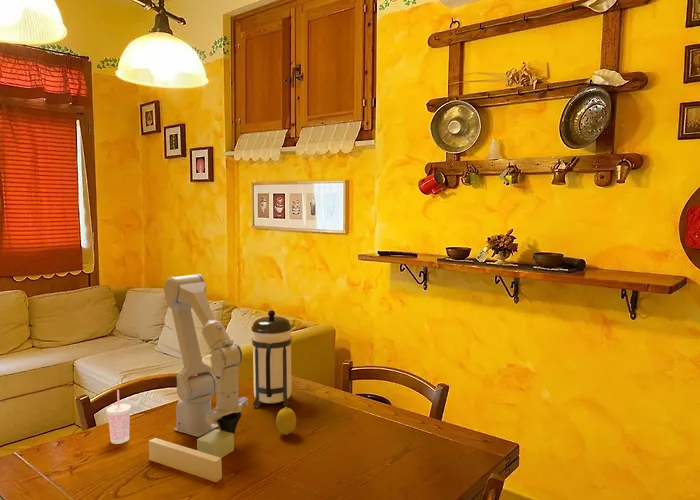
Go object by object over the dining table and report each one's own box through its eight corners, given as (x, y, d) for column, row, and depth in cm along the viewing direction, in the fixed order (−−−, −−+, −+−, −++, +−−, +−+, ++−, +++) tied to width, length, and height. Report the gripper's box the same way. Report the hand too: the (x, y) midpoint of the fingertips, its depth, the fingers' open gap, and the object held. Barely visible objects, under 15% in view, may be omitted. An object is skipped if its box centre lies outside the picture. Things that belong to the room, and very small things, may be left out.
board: (149, 460, 133) (148, 440, 133) (155, 456, 135) (155, 437, 135) (215, 482, 123) (215, 461, 122) (221, 478, 125) (221, 457, 124)
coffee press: (237, 401, 171) (235, 310, 168) (278, 389, 182) (277, 303, 179) (268, 418, 159) (266, 319, 156) (310, 404, 169) (309, 311, 166)
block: (197, 456, 135) (197, 439, 135) (216, 445, 141) (216, 428, 141) (215, 461, 132) (215, 444, 132) (234, 450, 139) (233, 433, 138)
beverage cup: (105, 446, 141) (102, 394, 139) (110, 436, 147) (108, 386, 145) (129, 443, 142) (127, 393, 141) (134, 434, 148) (132, 385, 147)
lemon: (299, 432, 149) (299, 404, 148) (291, 440, 144) (290, 412, 143) (281, 429, 151) (281, 402, 150) (272, 437, 146) (272, 409, 145)
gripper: (220, 402, 132) (221, 454, 133) (256, 384, 144) (257, 432, 146) (198, 397, 135) (200, 448, 136) (236, 380, 148) (237, 427, 149)
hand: (228, 440), depth 141 cm, fingers closed
